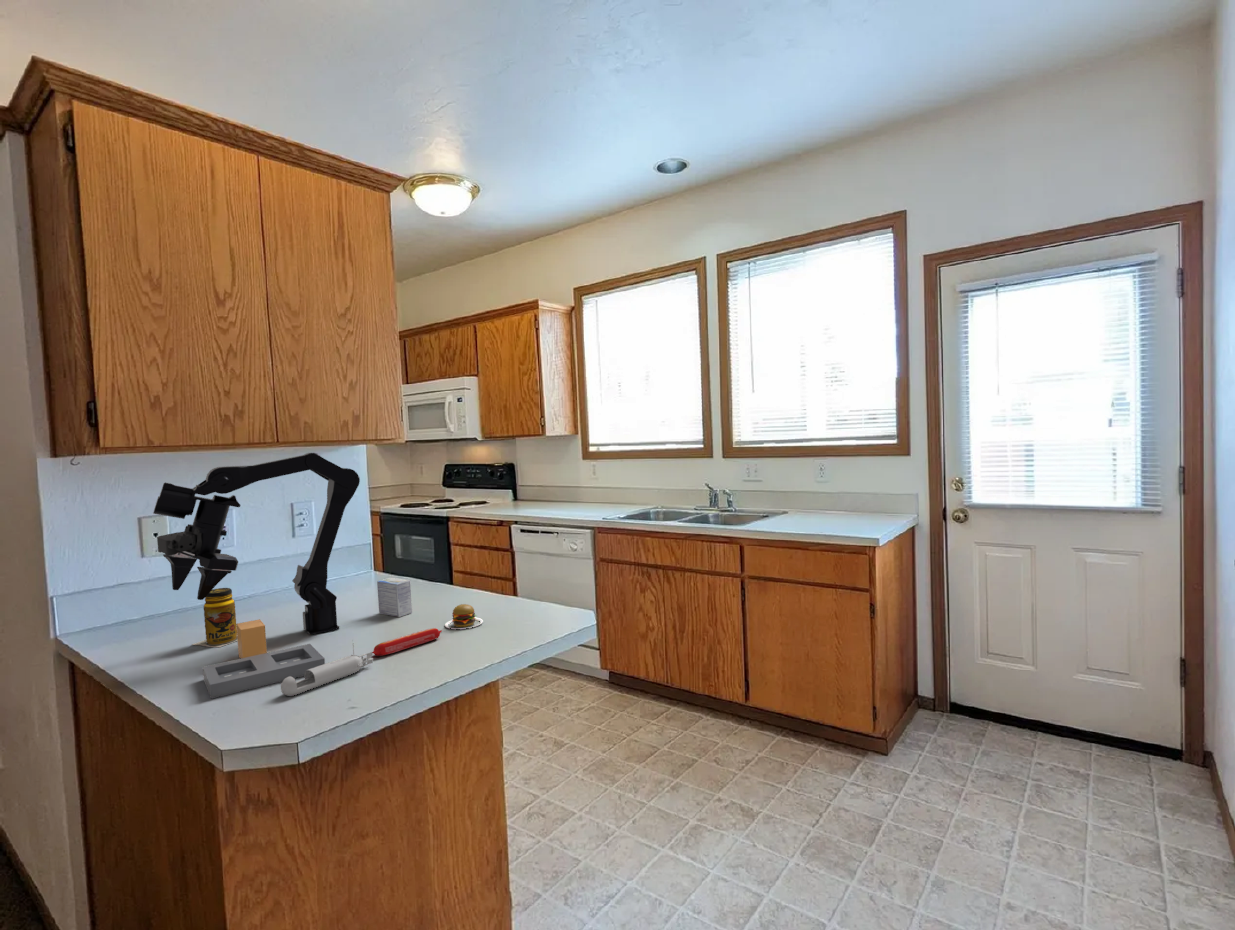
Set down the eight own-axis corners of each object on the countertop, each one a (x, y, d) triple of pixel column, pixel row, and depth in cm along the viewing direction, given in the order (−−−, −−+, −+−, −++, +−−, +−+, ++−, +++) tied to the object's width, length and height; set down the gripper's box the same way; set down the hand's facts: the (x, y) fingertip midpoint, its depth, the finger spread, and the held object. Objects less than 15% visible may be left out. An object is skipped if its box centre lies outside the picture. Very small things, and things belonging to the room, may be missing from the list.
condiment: (219, 647, 142) (215, 594, 141) (191, 645, 145) (187, 593, 144) (247, 637, 149) (244, 586, 148) (219, 635, 152) (216, 585, 151)
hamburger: (473, 616, 161) (472, 595, 161) (499, 626, 152) (498, 603, 152) (429, 627, 153) (428, 605, 153) (453, 638, 144) (452, 614, 144)
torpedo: (290, 702, 111) (288, 665, 111) (276, 696, 114) (273, 660, 114) (380, 668, 126) (378, 635, 126) (365, 664, 129) (363, 632, 129)
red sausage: (434, 636, 145) (434, 623, 145) (444, 639, 143) (443, 626, 143) (368, 657, 133) (367, 643, 133) (377, 661, 130) (377, 646, 130)
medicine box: (412, 613, 164) (411, 579, 164) (398, 617, 161) (396, 583, 160) (392, 609, 169) (391, 577, 168) (378, 613, 165) (376, 580, 164)
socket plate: (310, 655, 135) (309, 643, 135) (325, 670, 125) (324, 658, 125) (203, 679, 123) (202, 666, 123) (211, 698, 114) (210, 684, 113)
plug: (259, 647, 141) (257, 616, 141) (267, 658, 134) (265, 625, 134) (236, 652, 138) (234, 620, 138) (243, 663, 131) (240, 629, 131)
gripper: (145, 510, 136) (122, 583, 134) (196, 526, 128) (173, 604, 126) (198, 517, 146) (177, 585, 144) (248, 532, 137) (227, 605, 135)
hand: (187, 594), depth 137 cm, fingers open, 9 cm apart
